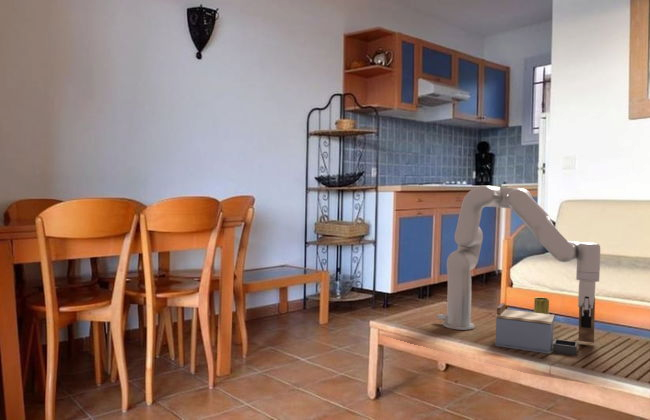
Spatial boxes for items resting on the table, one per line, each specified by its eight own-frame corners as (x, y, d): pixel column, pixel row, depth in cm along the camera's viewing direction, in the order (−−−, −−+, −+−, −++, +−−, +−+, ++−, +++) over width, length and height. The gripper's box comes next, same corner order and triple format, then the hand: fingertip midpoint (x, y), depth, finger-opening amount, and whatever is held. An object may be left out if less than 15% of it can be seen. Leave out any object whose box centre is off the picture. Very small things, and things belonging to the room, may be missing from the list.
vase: (550, 337, 200) (551, 300, 200) (533, 336, 201) (535, 299, 201) (547, 333, 206) (548, 297, 206) (530, 332, 207) (532, 296, 207)
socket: (553, 352, 180) (553, 343, 180) (554, 347, 186) (555, 339, 186) (576, 355, 177) (576, 347, 176) (577, 350, 183) (577, 342, 183)
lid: (495, 317, 186) (495, 308, 186) (501, 310, 198) (501, 302, 197) (551, 324, 178) (551, 314, 178) (554, 317, 189) (554, 308, 189)
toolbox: (495, 345, 187) (496, 318, 187) (501, 338, 197) (502, 311, 197) (549, 353, 178) (550, 324, 178) (552, 345, 189) (553, 318, 189)
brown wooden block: (578, 340, 189) (579, 297, 189) (579, 337, 193) (579, 294, 193) (593, 342, 187) (594, 298, 186) (594, 339, 191) (595, 296, 191)
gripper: (577, 272, 199) (576, 319, 199) (575, 278, 184) (573, 329, 184) (599, 274, 195) (598, 322, 196) (599, 280, 180) (597, 332, 181)
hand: (586, 325), depth 190 cm, fingers closed on brown wooden block, 5 cm apart
